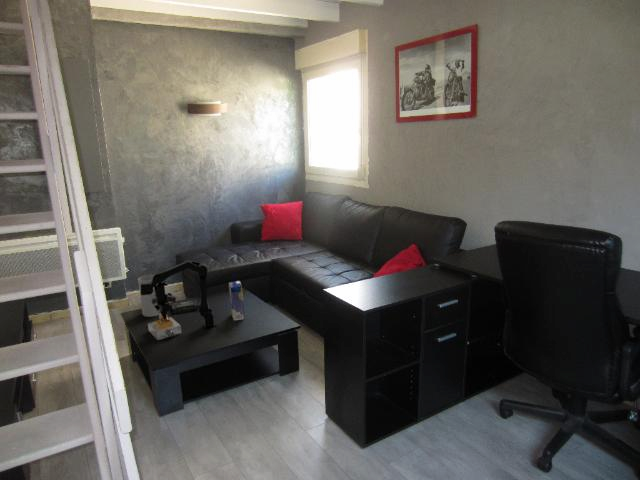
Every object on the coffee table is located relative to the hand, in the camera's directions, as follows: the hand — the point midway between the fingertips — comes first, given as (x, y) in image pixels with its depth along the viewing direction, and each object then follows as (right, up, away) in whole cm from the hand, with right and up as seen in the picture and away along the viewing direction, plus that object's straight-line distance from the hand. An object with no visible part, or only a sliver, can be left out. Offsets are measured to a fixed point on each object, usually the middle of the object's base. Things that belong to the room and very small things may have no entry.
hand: (163, 317), depth 266 cm
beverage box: (+40, -3, +22) cm, 46 cm away
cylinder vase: (-18, -3, +31) cm, 35 cm away
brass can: (0, -1, 0) cm, 1 cm away
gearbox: (+1, -9, +1) cm, 9 cm away
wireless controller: (+4, -1, +37) cm, 38 cm away
